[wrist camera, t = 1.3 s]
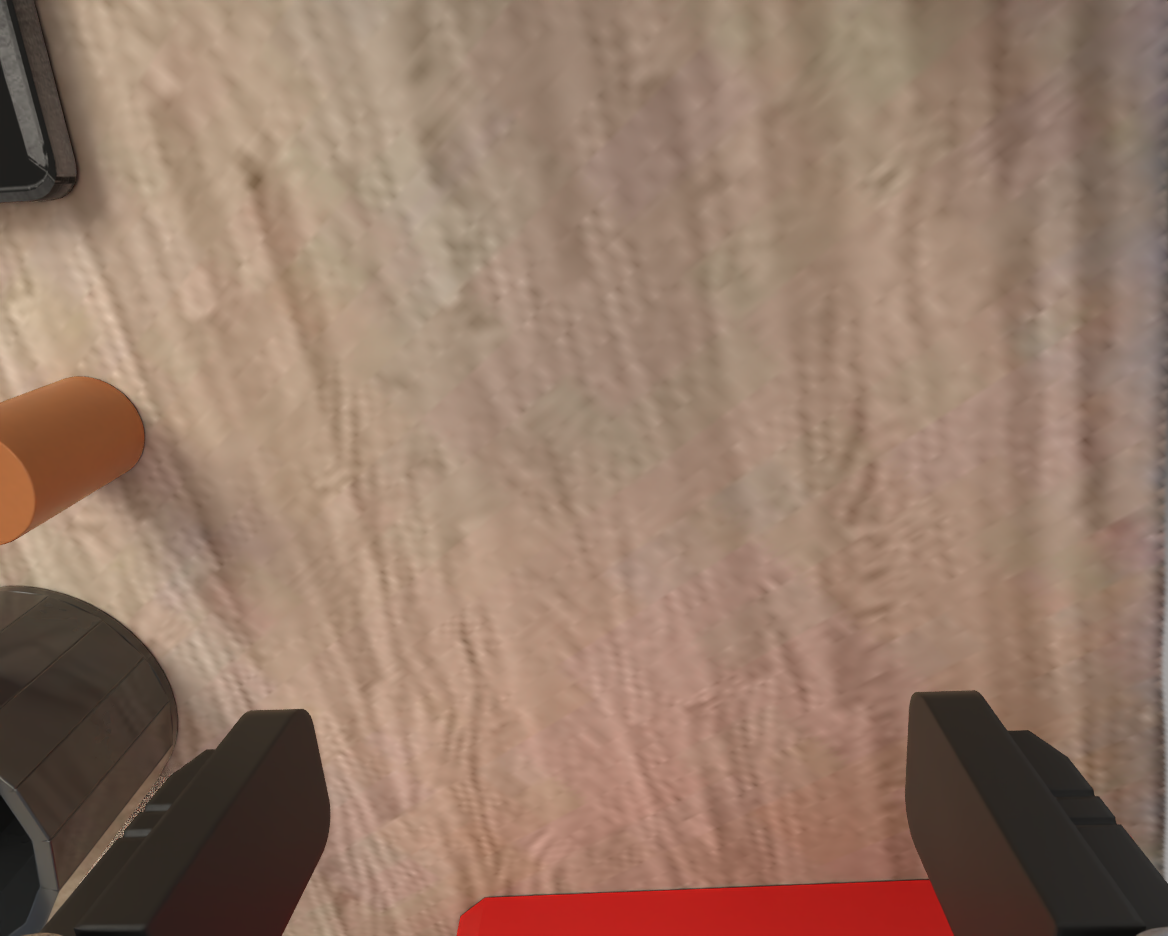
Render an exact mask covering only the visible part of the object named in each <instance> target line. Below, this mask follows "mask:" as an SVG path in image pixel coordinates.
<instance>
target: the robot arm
mask: <svg viewBox="0 0 1168 936" xmlns="http://www.w3.org/2000/svg"><path fill="white" fill-rule="evenodd" d="M905 802H906V811H907V818H908V823H909V828H910V832H911V836H912V839H913V842H914V845H915V847H916V850H917V852H918V854H919V857H920V859H921V861H922V863H923V866H924V868H925V870H926V873H927V875H928V877H929V879H930V882H931V884H932V886H933V889H934V891H935V893H936V896H937V898H938V900H939V902H940V905H941V907H942V909H943V912H944V914H945V916H946V918H947V921H948V923H949V925H950V928H951V930H952V932H953V934H954V936H1168V883H1167V882H1166V881H1165V880H1164V878H1163V877H1162V876H1161V875H1160V873H1159V872H1158V871H1157V870H1156V868H1155V867H1154V866H1153V864H1152V863H1151V862H1150V861H1149V859H1148V858H1147V857H1146V856H1145V854H1144V853H1143V852H1142V851H1141V849H1140V848H1139V847H1138V845H1137V844H1136V843H1135V842H1134V840H1133V839H1132V838H1131V837H1130V835H1129V834H1128V833H1127V832H1126V830H1125V829H1124V828H1123V826H1122V825H1117V823H1116V820H1115V816H1114V815H1113V814H1112V813H1111V811H1110V810H1109V809H1108V807H1107V806H1106V805H1105V804H1104V802H1103V801H1102V800H1101V799H1100V797H1099V796H1095V795H1094V791H1093V789H1092V787H1091V786H1090V785H1089V783H1088V782H1087V781H1086V780H1085V778H1084V777H1083V776H1082V775H1081V773H1080V772H1079V771H1078V770H1077V768H1076V767H1075V766H1074V764H1073V763H1072V762H1071V761H1070V759H1069V758H1068V757H1067V756H1065V755H1064V754H1062V753H1061V752H1059V751H1058V750H1056V749H1055V748H1054V747H1052V746H1051V745H1049V744H1048V743H1046V742H1045V741H1043V740H1042V739H1040V738H1039V737H1037V736H1036V735H1035V734H1033V733H1032V732H1030V731H1029V730H1025V731H1007V730H1006V728H1005V727H1004V725H1003V724H1002V723H1001V721H1000V720H999V718H998V717H997V716H996V714H995V713H994V711H993V710H992V709H991V707H990V706H989V704H988V703H987V702H986V700H985V699H984V697H983V696H982V695H981V694H980V693H979V692H977V691H975V690H974V691H941V692H915V693H914V694H913V695H912V697H911V700H910V706H909V723H908V744H907V765H906V785H905ZM329 827H330V802H329V797H328V792H327V787H326V782H325V778H324V773H323V768H322V763H321V758H320V754H319V749H318V744H317V739H316V734H315V730H314V725H313V721H312V719H311V716H310V715H309V713H308V712H307V711H306V710H304V709H287V710H254V711H248V712H246V713H245V714H244V715H243V716H242V717H241V718H240V719H239V720H238V722H237V723H236V724H235V725H234V727H233V728H232V729H231V731H230V732H229V733H228V734H227V736H226V737H225V738H224V739H223V741H222V742H221V743H220V744H219V746H218V747H217V748H216V749H215V750H206V751H204V752H203V753H201V754H200V755H199V756H197V757H196V758H194V759H193V760H192V761H190V762H189V763H187V764H186V765H185V766H183V767H182V768H181V769H179V770H178V771H176V772H175V773H174V774H172V775H171V776H170V777H169V778H168V779H167V780H166V782H165V783H164V784H163V785H162V786H161V788H160V789H159V790H158V791H157V792H156V794H155V795H154V796H153V797H152V798H151V800H150V801H149V802H148V803H147V804H146V806H145V811H144V812H140V813H139V814H138V815H137V816H136V818H135V819H134V820H133V821H132V822H131V823H130V825H129V826H128V827H127V828H126V829H125V831H124V836H123V838H118V839H117V840H116V841H115V843H114V844H113V845H112V846H111V847H110V849H109V850H108V851H107V852H106V853H105V855H104V856H103V857H102V858H101V859H100V861H99V862H98V863H97V864H96V865H95V866H94V868H93V869H92V870H91V871H90V872H89V874H88V875H87V876H86V877H85V878H84V880H83V881H82V882H81V883H80V884H79V886H78V887H77V888H76V889H75V890H74V892H73V893H72V894H71V895H70V896H69V898H68V899H67V900H66V901H65V902H64V904H63V905H62V906H61V907H60V908H59V909H58V911H57V912H56V913H55V914H54V915H53V917H52V918H51V919H50V920H49V921H48V923H47V924H46V925H45V926H44V927H43V929H42V930H41V931H40V932H39V933H34V934H28V935H23V936H282V934H283V932H284V930H285V928H286V926H287V924H288V922H289V920H290V918H291V916H292V914H293V912H294V910H295V908H296V906H297V904H298V902H299V900H300V898H301V896H302V894H303V892H304V890H305V888H306V886H307V884H308V882H309V880H310V878H311V876H312V874H313V872H314V869H315V867H316V865H317V863H318V861H319V859H320V857H321V855H322V853H323V851H324V848H325V845H326V842H327V838H328V833H329Z"/></svg>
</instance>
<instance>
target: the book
mask: <svg viewBox="0 0 1168 936" xmlns="http://www.w3.org/2000/svg"><path fill="white" fill-rule="evenodd" d="M457 936H954V934H953V932H952V930H951V928H950V925H949V923H948V921H947V918H946V916H945V914H944V912H943V909H942V907H941V905H940V902H939V900H938V898H937V896H936V893H935V891H934V889H933V886H932V884H931V882H930V880H911V881H886V882H861V883H836V884H812V885H787V886H762V887H737V888H712V889H687V890H663V891H638V892H613V893H588V894H563V895H538V896H514V897H489V898H484V899H482V900H481V901H480V902H479V903H477V904H476V905H475V906H473V907H472V908H471V909H469V910H468V911H467V912H465V913H464V914H463V915H462V916H461V917H460V922H459V926H458V931H457Z"/></svg>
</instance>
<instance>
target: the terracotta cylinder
mask: <svg viewBox="0 0 1168 936" xmlns="http://www.w3.org/2000/svg"><path fill="white" fill-rule="evenodd" d="M144 441H145V437H144V428H143V424H142V421H141V419H140V416H139V414H138V412H137V411H136V409H135V407H134V406H133V405H132V403H131V402H130V401H129V400H128V399H127V397H126V396H125V395H123V394H122V393H121V392H120V391H119V390H117V389H116V388H114V387H113V386H111V385H109V384H107V383H105V382H103V381H101V380H97V379H94V378H89V377H70V378H65V379H63V380H60V381H57V382H55V383H52V384H49V385H46V386H44V387H41V388H38V389H36V390H33V391H30V392H28V393H25V394H22V395H20V396H17V397H14V398H11V399H9V400H6V401H3V402H1V403H0V545H2V544H6V543H9V542H12V541H14V540H15V539H17V538H19V537H21V536H22V535H24V534H26V533H27V532H29V531H30V530H32V529H34V528H35V527H37V526H39V525H40V524H42V523H44V522H45V521H47V520H48V519H50V518H52V517H53V516H55V515H57V514H58V513H60V512H62V511H63V510H65V509H67V508H68V507H70V506H71V505H73V504H75V503H76V502H78V501H80V500H81V499H83V498H85V497H86V496H88V495H90V494H91V493H93V492H94V491H96V490H98V489H99V488H101V487H103V486H104V485H106V484H108V483H109V482H111V481H112V480H114V479H116V478H117V477H119V476H121V475H122V474H124V473H126V472H127V471H129V470H130V469H131V468H132V467H133V466H134V465H135V464H136V463H137V462H138V460H139V459H140V456H141V454H142V451H143V448H144Z"/></svg>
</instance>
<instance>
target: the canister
mask: <svg viewBox="0 0 1168 936" xmlns="http://www.w3.org/2000/svg"><path fill="white" fill-rule="evenodd" d="M176 735H177V710H176V704H175V700H174V696H173V693H172V690H171V687H170V685H169V683H168V681H167V679H166V676H165V674H164V672H163V671H162V669H161V667H160V666H159V664H158V663H157V661H156V660H155V658H154V657H153V656H152V654H151V653H150V652H149V651H148V649H147V648H146V647H145V646H144V645H143V644H142V643H141V642H140V641H139V640H138V639H137V638H136V637H135V636H134V635H133V634H132V633H131V632H130V631H129V630H128V629H126V628H125V627H124V626H123V625H121V624H120V623H119V622H118V621H116V620H115V619H113V618H112V617H110V616H109V615H107V614H106V613H104V612H102V611H101V610H99V609H97V608H95V607H93V606H91V605H89V604H87V603H85V602H83V601H81V600H78V599H76V598H73V597H70V596H68V595H65V594H61V593H58V592H54V591H50V590H46V589H40V588H34V587H22V586H6V587H0V936H23V935H28V934H34V933H39V932H40V931H41V930H42V929H43V927H44V926H45V925H46V924H47V923H48V921H49V920H50V919H51V918H52V917H53V915H54V914H55V913H56V912H57V911H58V909H59V908H60V907H61V906H62V905H63V904H64V902H65V901H66V900H67V899H68V898H69V896H70V895H71V894H72V893H73V891H74V890H75V889H76V887H77V886H78V885H79V883H80V882H81V881H82V879H83V878H84V877H85V875H86V874H87V873H88V871H89V870H90V869H91V867H92V866H93V865H94V863H95V862H96V861H97V860H98V858H99V857H100V856H101V854H102V853H103V852H104V850H105V849H106V848H107V846H108V845H109V844H110V842H111V841H112V840H113V838H114V837H115V836H116V834H117V833H118V832H119V830H120V829H121V828H122V826H123V825H124V824H125V822H126V821H127V820H128V818H129V817H130V816H131V815H132V813H133V812H134V811H135V809H136V808H137V807H138V805H139V804H140V803H141V801H142V800H143V799H144V797H145V796H146V795H147V793H148V792H149V791H150V789H151V788H152V787H153V785H154V784H155V783H156V781H157V780H158V779H159V776H160V774H161V772H162V769H163V768H164V767H165V765H166V764H167V762H168V760H169V758H170V756H171V754H172V751H173V748H174V745H175V742H176Z"/></svg>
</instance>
